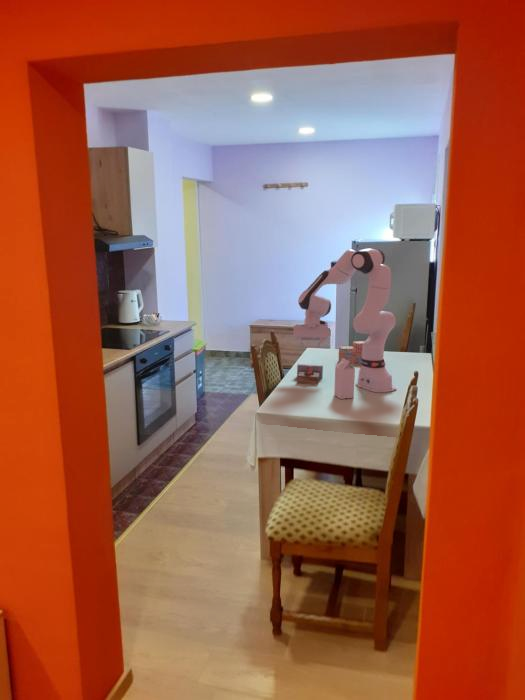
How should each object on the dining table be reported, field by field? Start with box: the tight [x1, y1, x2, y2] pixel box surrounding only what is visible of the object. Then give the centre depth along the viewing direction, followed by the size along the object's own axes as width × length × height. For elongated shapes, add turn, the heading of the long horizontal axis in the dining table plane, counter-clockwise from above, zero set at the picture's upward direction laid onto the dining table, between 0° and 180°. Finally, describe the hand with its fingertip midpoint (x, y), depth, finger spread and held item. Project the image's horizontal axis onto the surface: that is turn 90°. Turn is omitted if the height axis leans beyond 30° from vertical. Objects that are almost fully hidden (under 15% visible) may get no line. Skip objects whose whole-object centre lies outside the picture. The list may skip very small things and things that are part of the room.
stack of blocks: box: [338, 340, 366, 364], centre depth 355 cm, size 21×6×12 cm, turn 101°
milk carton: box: [333, 358, 356, 400], centre depth 282 cm, size 7×7×19 cm
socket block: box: [297, 371, 320, 385], centre depth 311 cm, size 11×11×4 cm
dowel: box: [306, 364, 313, 375], centre depth 311 cm, size 3×3×8 cm
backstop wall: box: [296, 364, 324, 379], centre depth 318 cm, size 2×14×7 cm, turn 81°
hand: (310, 345), depth 314 cm, fingers open, 8 cm apart
